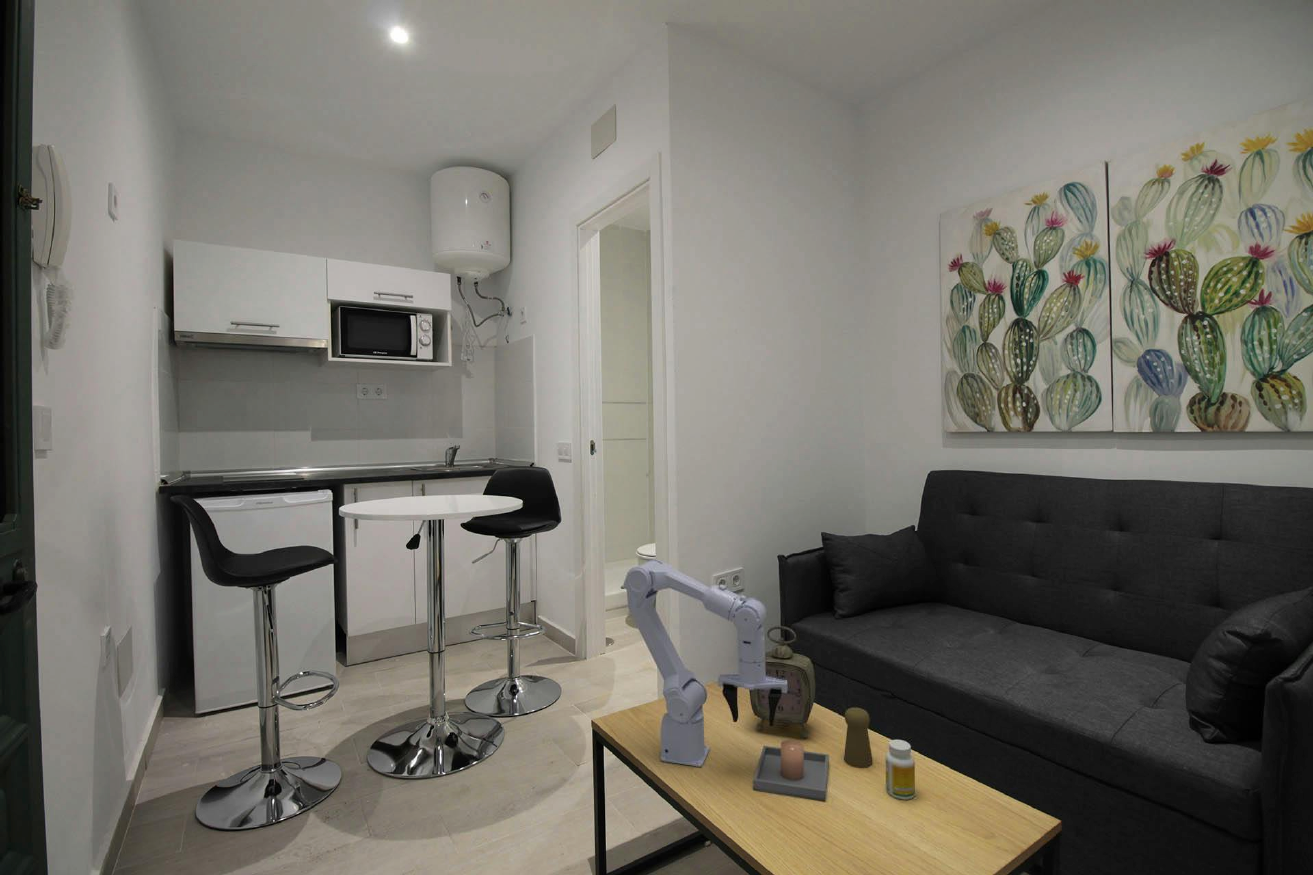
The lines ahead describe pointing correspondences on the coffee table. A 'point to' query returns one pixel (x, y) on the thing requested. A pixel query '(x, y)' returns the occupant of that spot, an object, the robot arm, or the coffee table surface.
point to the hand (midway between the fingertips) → (753, 721)
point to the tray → (806, 787)
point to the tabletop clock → (799, 682)
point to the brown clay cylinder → (792, 760)
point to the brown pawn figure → (857, 739)
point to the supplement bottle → (900, 770)
